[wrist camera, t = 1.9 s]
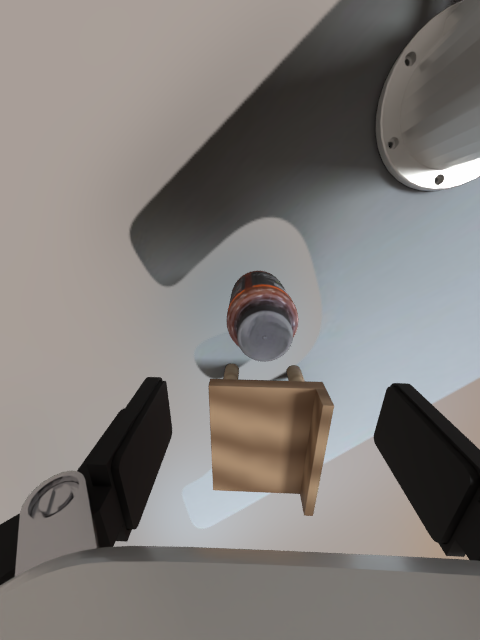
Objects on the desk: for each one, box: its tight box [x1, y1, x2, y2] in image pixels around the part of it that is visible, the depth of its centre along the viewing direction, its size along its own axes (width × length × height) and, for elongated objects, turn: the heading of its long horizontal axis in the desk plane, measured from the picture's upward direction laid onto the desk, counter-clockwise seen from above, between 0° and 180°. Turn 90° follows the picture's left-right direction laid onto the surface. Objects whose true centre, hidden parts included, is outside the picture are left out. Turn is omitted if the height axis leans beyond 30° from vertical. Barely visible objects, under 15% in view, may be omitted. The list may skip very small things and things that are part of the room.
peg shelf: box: [209, 364, 334, 516], centre depth 28 cm, size 16×12×9 cm
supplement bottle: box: [227, 271, 298, 361], centre depth 22 cm, size 6×6×11 cm
